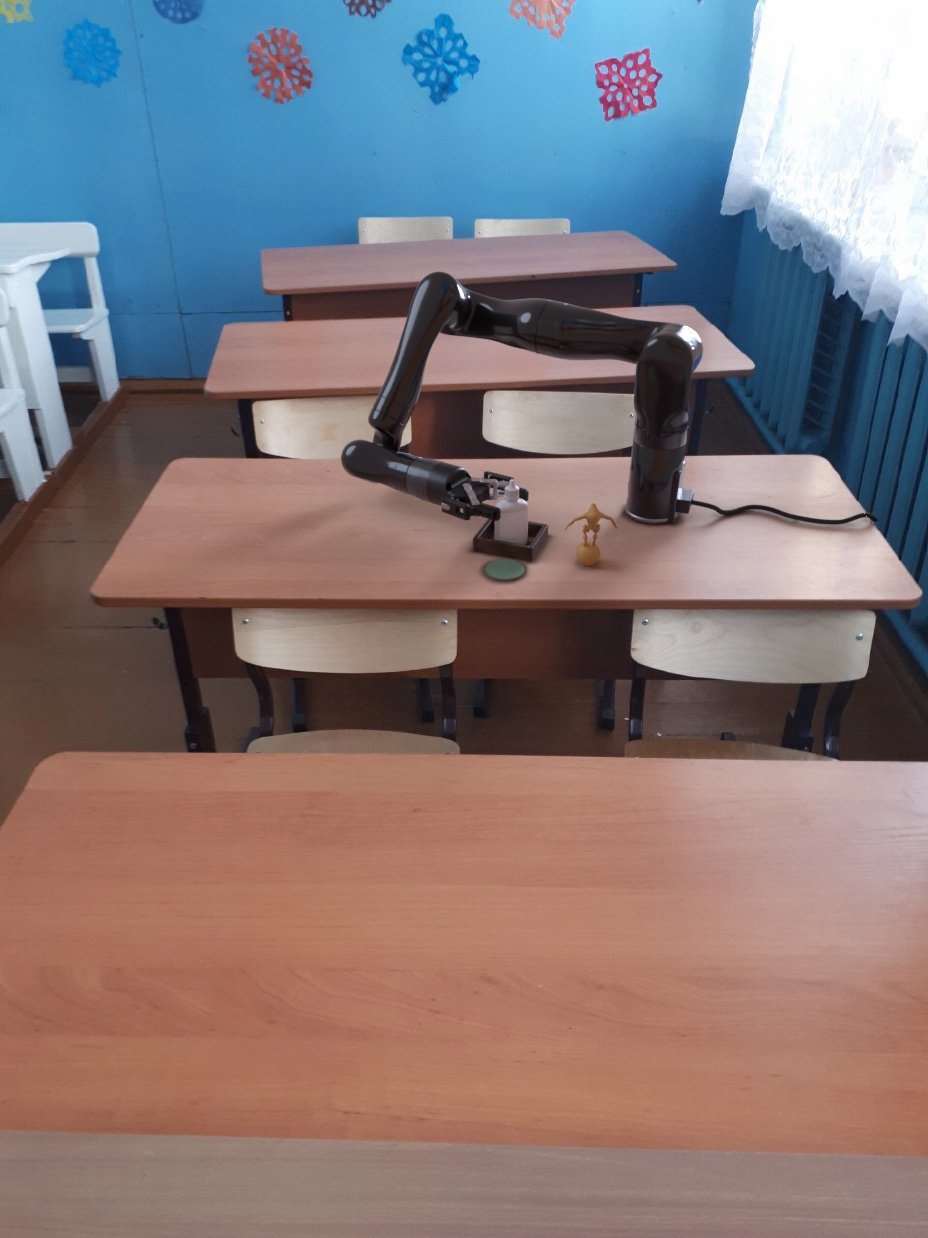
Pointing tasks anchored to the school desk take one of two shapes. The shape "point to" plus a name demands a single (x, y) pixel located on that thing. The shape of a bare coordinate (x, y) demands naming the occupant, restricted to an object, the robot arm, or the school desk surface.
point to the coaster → (504, 570)
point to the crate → (508, 548)
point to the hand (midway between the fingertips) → (513, 505)
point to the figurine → (589, 550)
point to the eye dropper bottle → (512, 517)
